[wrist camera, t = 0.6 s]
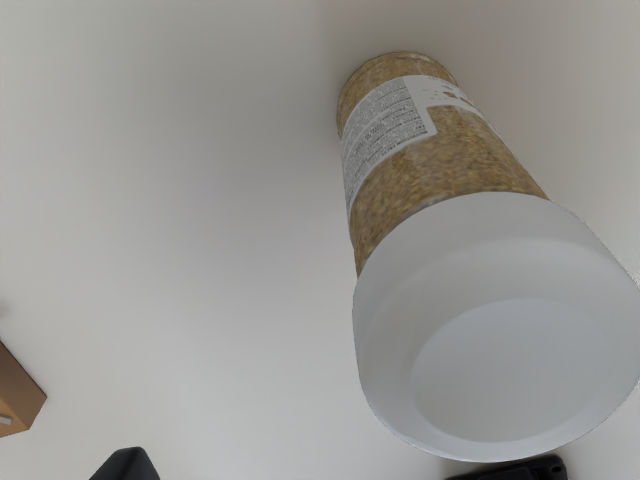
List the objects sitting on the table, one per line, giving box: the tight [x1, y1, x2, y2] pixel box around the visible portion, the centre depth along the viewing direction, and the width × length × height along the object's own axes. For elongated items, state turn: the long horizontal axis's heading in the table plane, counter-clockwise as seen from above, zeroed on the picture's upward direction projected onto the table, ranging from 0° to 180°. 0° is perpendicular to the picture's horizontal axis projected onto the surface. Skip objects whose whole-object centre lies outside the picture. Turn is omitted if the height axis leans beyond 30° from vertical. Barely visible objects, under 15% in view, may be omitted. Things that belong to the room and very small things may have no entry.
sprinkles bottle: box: [336, 52, 640, 462], centre depth 14 cm, size 5×5×14 cm
